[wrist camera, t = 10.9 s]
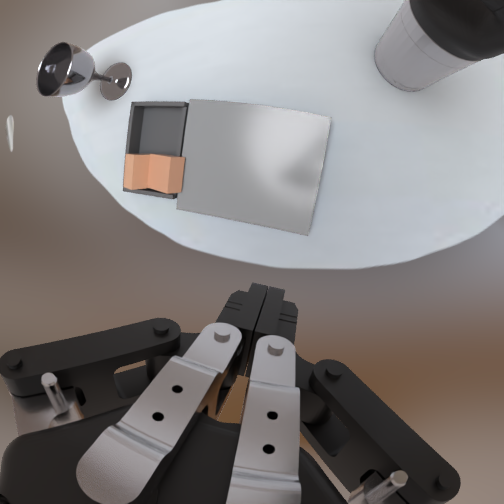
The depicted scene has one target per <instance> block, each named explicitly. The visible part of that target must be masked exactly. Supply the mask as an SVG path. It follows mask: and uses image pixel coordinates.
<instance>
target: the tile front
mask: <svg viewBox="0 0 504 504" xmlns="http://www.w3.org/2000/svg"><path fill="white" fill-rule="evenodd" d="M184 162H185V157H180V156H174V155H168V154H150V161H149V172H148V185H147V187H148V188H151V189H154V190H157V191H160V192H163V193H166V194H170V193H180V192H181V189H182V179H183V170H184Z"/></svg>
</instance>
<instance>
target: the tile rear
mask: <svg viewBox="0 0 504 504" xmlns="http://www.w3.org/2000/svg"><path fill="white" fill-rule="evenodd" d="M150 154H154V153H140V154H126V158H125V171H124V187H125V188H128V189H130V190H136V189H146V188H148V187H147V185H148V172H149V161H150Z"/></svg>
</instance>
